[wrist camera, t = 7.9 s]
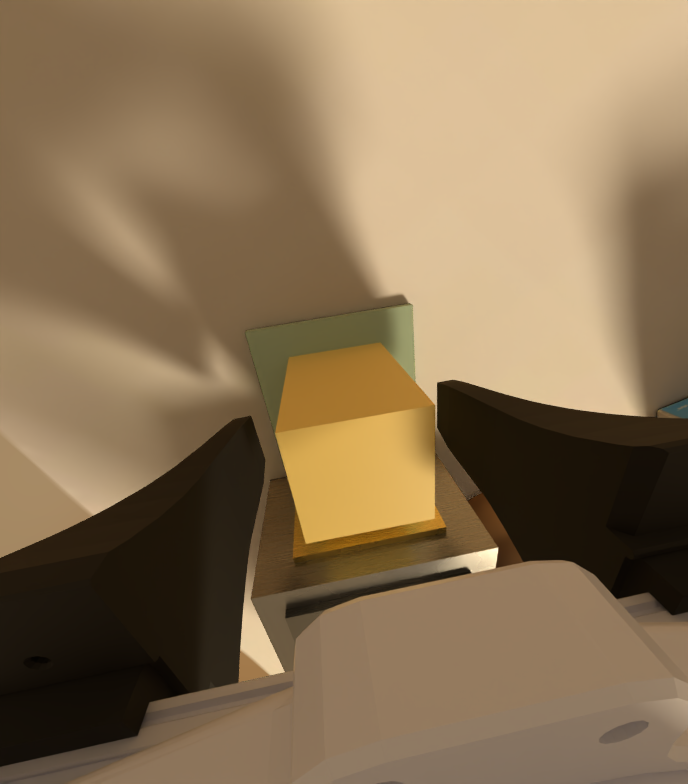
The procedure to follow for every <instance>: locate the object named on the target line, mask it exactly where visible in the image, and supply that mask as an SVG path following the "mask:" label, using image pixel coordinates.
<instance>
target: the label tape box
mask: <svg viewBox="0 0 688 784" xmlns="http://www.w3.org/2000/svg"><path fill="white" fill-rule="evenodd" d="M657 413H658V415H657V417H658V418H688V398H687V399H685V400H682V401H680V402H677V403H675V404H672V405H670V406H667V407H664V408H662V409H660V410H658V412H657Z"/></svg>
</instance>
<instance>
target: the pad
mask: <svg viewBox="0 0 688 784" xmlns="http://www.w3.org/2000/svg"><path fill="white" fill-rule="evenodd" d="M245 335H246V338H247V341H248V345H249V348H250V352H251V355H252V359H253V362H254V366H255V369H256V372H257V376H258V379H259V383H260V386H261V390H262V393H263V397H264V400H265V403H266V407H267V410H268V414H269V417H270V421H271V424H272V427H273V431H274V434H275V431H276V426H277V420H278V415H279V409H280V404H281V398H282V392H283V387H284V381H285V376H286V370H287V365H288V359H289V357H293V356H299V355H305V354H311V353H317V352H324V351H330V350H336V349H342V348H348V347H354V346H361V345H367V344H373V343H379V342H380V343H381V344H382V345H383V346H384V347H385V348H386V349H387V351H388V352H389V353H390V354H391V355H392V356H393V357H394V359H395V360H396V361H397V362H398V363H399V364H400V365H401V367H402V368H403V369H404V370H405V371H406V372H407V373H408V375H409V376H410V377H411V378H412V379H413V380H414V381H415V359H414V332H413V306H412V304H410V303H409V304H403V305H397V306H391V307H384V308H378V309H372V310H366V311H360V312H354V313H348V314H342V315H336V316H330V317H324V318H318V319H312V320H306V321H300V322H294V323H288V324H282V325H276V326H270V327H264V328H258V329H252V330H247V331H246V332H245ZM275 438H276V434H275ZM276 441H277V438H276ZM277 445H278V441H277ZM278 448H279V445H278ZM279 452H280V449H279ZM280 455H281V452H280ZM281 458H282V456H281ZM282 462H283V459H282ZM283 465H284V463H283Z"/></svg>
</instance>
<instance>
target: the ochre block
mask: <svg viewBox="0 0 688 784" xmlns="http://www.w3.org/2000/svg"><path fill="white" fill-rule="evenodd" d="M275 434H276V438H277V441H278V445H279V449H280V452H281V456H282V459H283V463H284V467H285V470H286V474H287V477H288V481H289V485H290V488H291V492H292V495H293V499H294V503H295V506H296V510H297V513H298V517H299V521H300V524H301V528H302V531H303V535H304V539H305V542H306V544H308V543H313V542H318V541H323V540H328V539H333V538H339V537H344V536H349V535H354V534H359V533H364V532H369V531H375V530H380V529H385V528H390V527H395V526H400V525H405V524H411V523H416V522H421V521H426V520H431V519H435V404H434V403H433V402H432V401H431V400H430V399H429V398H428V396H427V395H426V394H425V393H424V392H423V391H422V389H421V388H420V387H419V386H418V385H417V384H416V383H415V381H414V380H413V379H412V378H411V377H410V376H409V375H408V373H407V372H406V371H405V370H404V369H403V368H402V367H401V365H400V364H399V363H398V362H397V361H396V360H395V359H394V357H393V356H392V355H391V354H390V353H389V352H388V351H387V349H386V348H385V347H384V346H383V345H382V344H381V343H380V342H379V343H373V344H367V345H361V346H354V347H348V348H342V349H336V350H330V351H324V352H317V353H311V354H305V355H299V356H293V357H289V359H288V365H287V370H286V376H285V381H284V387H283V392H282V398H281V404H280V409H279V415H278V420H277V426H276V431H275Z"/></svg>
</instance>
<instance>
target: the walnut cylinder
mask: <svg viewBox="0 0 688 784" xmlns="http://www.w3.org/2000/svg"><path fill="white" fill-rule="evenodd" d="M468 503H469V504H470V506H471V507H472V509H473V510H474V512H475V513H476V515H477V516H478V518H479V519H480V521H481V522H482V524H483V525H484V527H485V528H486V530H487V531H488V533H489V534H490V536H491V537H492V539H493V540H494V542H495V543H496V545H497V546H498V554H497V561H496V568H499V567H504V566H509V565H513V564H518V563H523V561H522V559H521V557H520V555H519V553H518V551H517V550H516V548H515V546H514V544H513V543H512V541H511V539H510V537H509V536H508V534H507V532H506V530H505V529H504V527H503V525H502V523H501V522H500V520H499V518H498V517H497V515H496V513H495V512H494V510H493V509H492V507H491V505H490V504H489V502H488V500H487V499H486V498H485V496H484V495H483V493H481V494H479V495H477V496H475V497H473V498H472V499H470V500H469V501H468Z"/></svg>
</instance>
